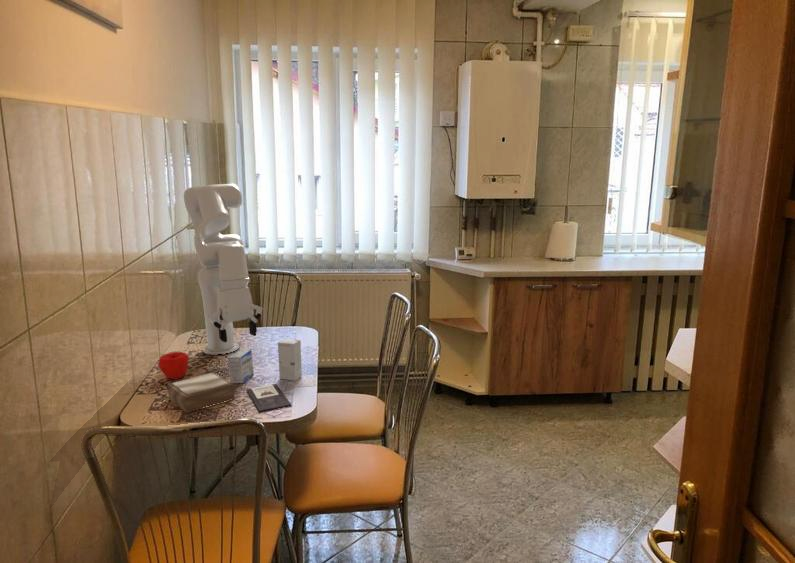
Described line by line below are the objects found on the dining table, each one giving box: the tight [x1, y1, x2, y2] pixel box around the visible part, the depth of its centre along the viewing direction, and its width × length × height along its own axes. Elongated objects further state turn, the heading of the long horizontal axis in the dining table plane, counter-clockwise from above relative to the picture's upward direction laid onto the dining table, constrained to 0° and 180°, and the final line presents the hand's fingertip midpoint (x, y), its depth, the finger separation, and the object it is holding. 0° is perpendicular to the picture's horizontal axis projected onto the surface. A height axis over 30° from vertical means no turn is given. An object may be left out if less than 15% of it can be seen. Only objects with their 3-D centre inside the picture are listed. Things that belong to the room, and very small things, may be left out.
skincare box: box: [277, 338, 303, 381], centre depth 187 cm, size 6×4×12 cm
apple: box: [158, 351, 189, 380], centre depth 192 cm, size 9×9×8 cm
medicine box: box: [227, 349, 254, 384], centre depth 188 cm, size 8×4×9 cm, turn 168°
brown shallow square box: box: [167, 371, 235, 414], centre depth 173 cm, size 14×14×5 cm
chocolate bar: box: [246, 383, 292, 413], centre depth 173 cm, size 9×1×18 cm
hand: (238, 338), depth 186 cm, fingers open, 9 cm apart
